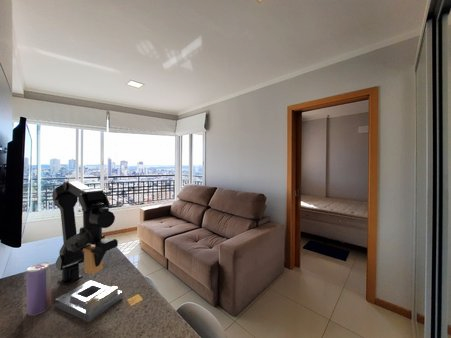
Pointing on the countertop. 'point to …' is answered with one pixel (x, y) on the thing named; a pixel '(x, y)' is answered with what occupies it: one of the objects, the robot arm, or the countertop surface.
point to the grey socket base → (89, 300)
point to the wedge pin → (91, 261)
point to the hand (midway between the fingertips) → (93, 265)
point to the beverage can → (38, 288)
